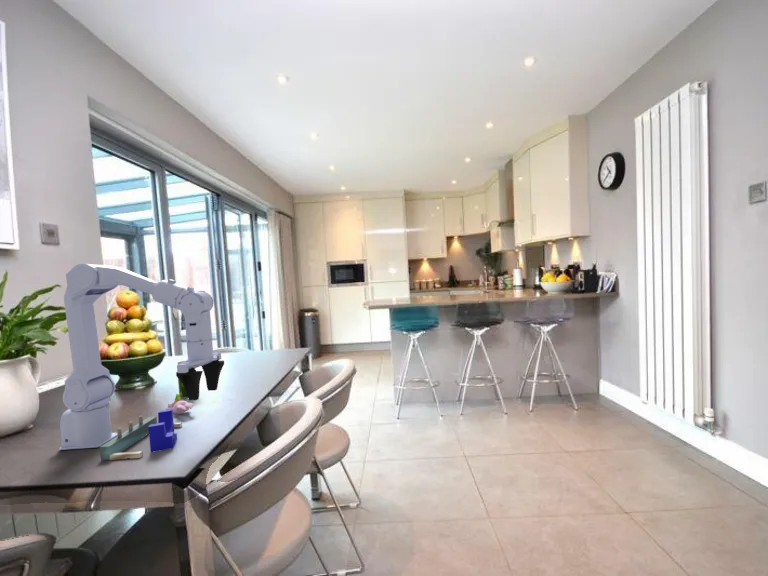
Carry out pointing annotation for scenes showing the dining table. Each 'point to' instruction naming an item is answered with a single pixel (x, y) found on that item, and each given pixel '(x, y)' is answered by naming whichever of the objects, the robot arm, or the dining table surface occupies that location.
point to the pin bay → (128, 440)
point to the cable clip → (162, 432)
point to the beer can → (181, 387)
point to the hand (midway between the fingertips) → (203, 394)
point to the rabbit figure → (179, 405)
